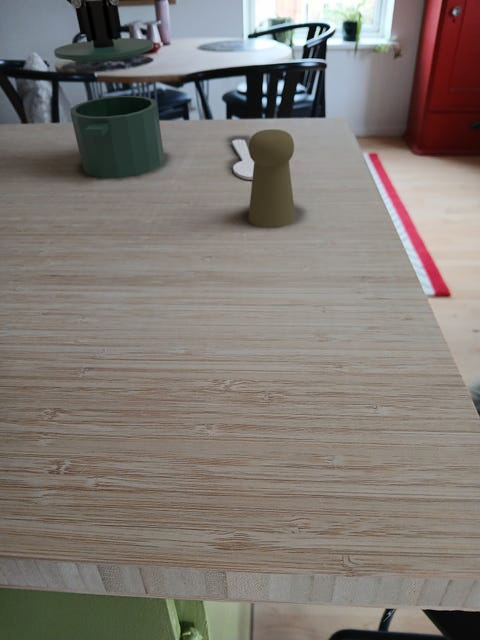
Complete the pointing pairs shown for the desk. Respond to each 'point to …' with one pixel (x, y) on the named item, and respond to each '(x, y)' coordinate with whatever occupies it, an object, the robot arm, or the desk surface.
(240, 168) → the spoon
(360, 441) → the desk surface
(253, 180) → the pepper mill
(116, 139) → the cooker pot
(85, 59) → the pot lid
